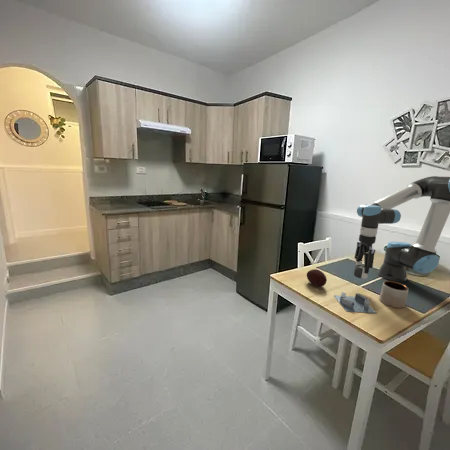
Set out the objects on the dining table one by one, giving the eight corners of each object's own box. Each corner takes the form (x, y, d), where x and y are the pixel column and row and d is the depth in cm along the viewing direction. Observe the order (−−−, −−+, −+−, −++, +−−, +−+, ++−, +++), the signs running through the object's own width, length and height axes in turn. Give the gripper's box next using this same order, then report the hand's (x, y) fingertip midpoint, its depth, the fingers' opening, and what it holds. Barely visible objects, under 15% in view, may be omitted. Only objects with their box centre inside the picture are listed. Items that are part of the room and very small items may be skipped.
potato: (319, 291, 128) (321, 275, 126) (301, 282, 138) (303, 267, 136) (329, 288, 133) (331, 272, 131) (311, 279, 143) (313, 264, 140)
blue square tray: (360, 297, 124) (361, 291, 123) (376, 313, 111) (377, 307, 110) (333, 295, 125) (334, 290, 124) (346, 311, 111) (347, 304, 110)
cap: (363, 273, 133) (364, 265, 132) (369, 278, 127) (371, 270, 126) (351, 273, 133) (353, 264, 132) (357, 278, 127) (359, 269, 126)
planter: (395, 310, 114) (400, 292, 112) (374, 298, 124) (378, 282, 121) (409, 306, 118) (414, 288, 116) (387, 295, 128) (391, 279, 126)
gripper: (351, 229, 134) (345, 267, 140) (370, 240, 115) (363, 283, 121) (365, 230, 134) (358, 268, 139) (386, 240, 115) (378, 284, 121)
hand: (360, 275), depth 130 cm, fingers closed on cap, 6 cm apart
